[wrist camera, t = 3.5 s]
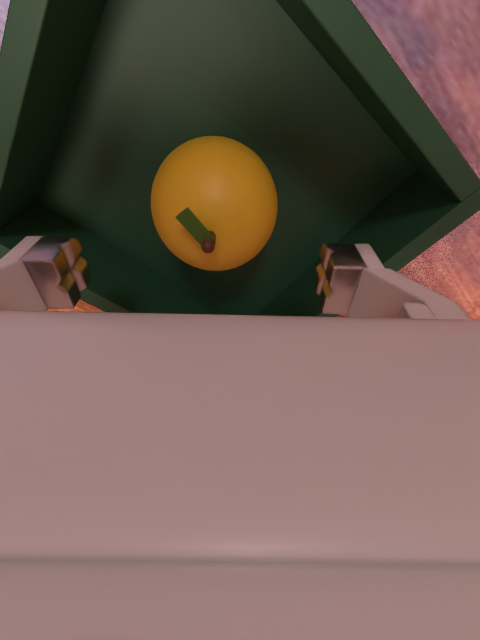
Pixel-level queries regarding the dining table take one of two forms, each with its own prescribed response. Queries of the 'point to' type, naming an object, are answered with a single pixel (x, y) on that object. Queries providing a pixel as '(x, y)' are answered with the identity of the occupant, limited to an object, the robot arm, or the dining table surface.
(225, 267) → the orange
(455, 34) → the dining table surface
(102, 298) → the crate
